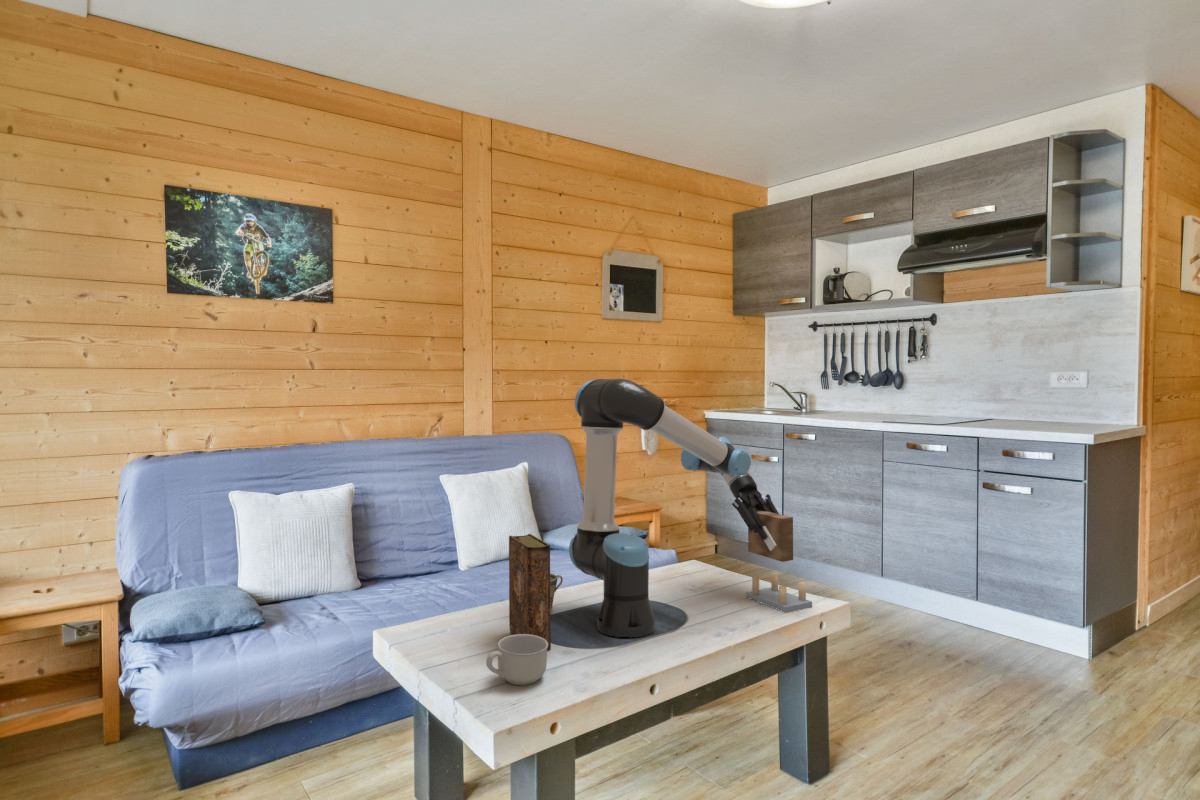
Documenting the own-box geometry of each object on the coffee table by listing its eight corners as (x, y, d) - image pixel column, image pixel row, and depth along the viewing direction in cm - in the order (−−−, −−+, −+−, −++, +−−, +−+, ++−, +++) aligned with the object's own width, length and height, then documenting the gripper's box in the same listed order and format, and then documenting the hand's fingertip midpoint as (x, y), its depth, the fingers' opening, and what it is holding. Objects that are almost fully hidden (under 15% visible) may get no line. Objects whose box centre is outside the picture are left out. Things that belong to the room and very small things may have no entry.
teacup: (536, 665, 155) (536, 630, 155) (556, 683, 146) (556, 646, 145) (476, 678, 148) (476, 641, 148) (493, 698, 139) (493, 658, 139)
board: (748, 551, 204) (748, 510, 203) (758, 549, 206) (758, 509, 205) (782, 561, 191) (782, 518, 191) (793, 559, 193) (792, 517, 193)
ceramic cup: (535, 621, 184) (535, 584, 184) (514, 612, 192) (514, 576, 192) (573, 611, 193) (573, 575, 192) (551, 603, 200) (551, 568, 200)
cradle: (746, 597, 204) (746, 575, 204) (771, 592, 209) (771, 571, 209) (785, 612, 191) (785, 589, 190) (811, 606, 195) (812, 584, 195)
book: (552, 651, 164) (552, 546, 163) (530, 655, 161) (530, 548, 161) (529, 629, 178) (529, 532, 178) (509, 632, 176) (508, 534, 176)
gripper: (755, 486, 216) (795, 550, 202) (712, 491, 207) (750, 558, 193) (767, 471, 211) (808, 535, 197) (723, 476, 202) (763, 543, 188)
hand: (779, 546), depth 195 cm, fingers closed on board, 4 cm apart
